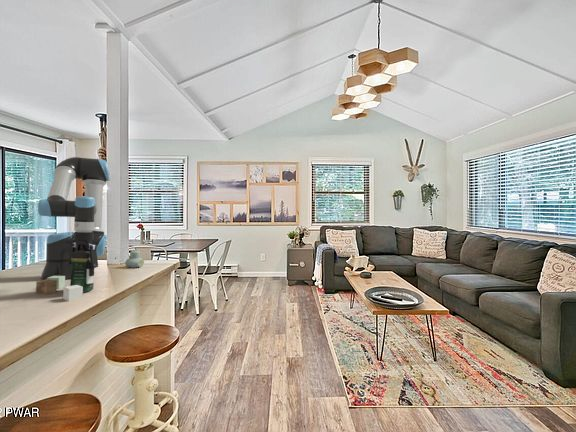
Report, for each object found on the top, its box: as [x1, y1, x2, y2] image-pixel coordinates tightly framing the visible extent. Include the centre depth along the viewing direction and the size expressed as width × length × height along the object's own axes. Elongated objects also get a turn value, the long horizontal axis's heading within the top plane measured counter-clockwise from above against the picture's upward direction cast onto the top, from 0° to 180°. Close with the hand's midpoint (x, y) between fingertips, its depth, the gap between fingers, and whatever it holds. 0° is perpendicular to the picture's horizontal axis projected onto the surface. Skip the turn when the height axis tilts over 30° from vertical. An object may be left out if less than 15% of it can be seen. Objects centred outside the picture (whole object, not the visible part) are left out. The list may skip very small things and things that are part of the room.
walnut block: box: [35, 279, 57, 295], centre depth 143 cm, size 5×5×5 cm
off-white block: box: [62, 285, 84, 302], centre depth 134 cm, size 5×5×5 cm
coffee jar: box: [69, 250, 94, 293], centre depth 147 cm, size 10×8×19 cm
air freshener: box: [124, 250, 145, 269], centre depth 209 cm, size 11×8×10 cm
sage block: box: [47, 276, 66, 290], centre depth 151 cm, size 5×5×5 cm
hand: (82, 281), depth 147 cm, fingers closed on coffee jar, 9 cm apart
